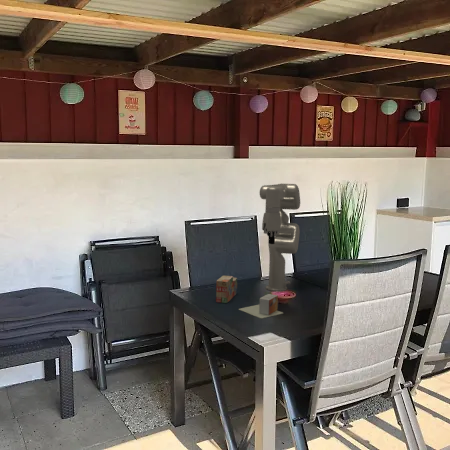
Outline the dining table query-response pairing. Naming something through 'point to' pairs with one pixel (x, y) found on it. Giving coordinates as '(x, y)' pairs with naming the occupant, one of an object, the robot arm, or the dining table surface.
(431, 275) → the dining table surface
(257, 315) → the mat
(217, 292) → the stack of blocks
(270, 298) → the small box
